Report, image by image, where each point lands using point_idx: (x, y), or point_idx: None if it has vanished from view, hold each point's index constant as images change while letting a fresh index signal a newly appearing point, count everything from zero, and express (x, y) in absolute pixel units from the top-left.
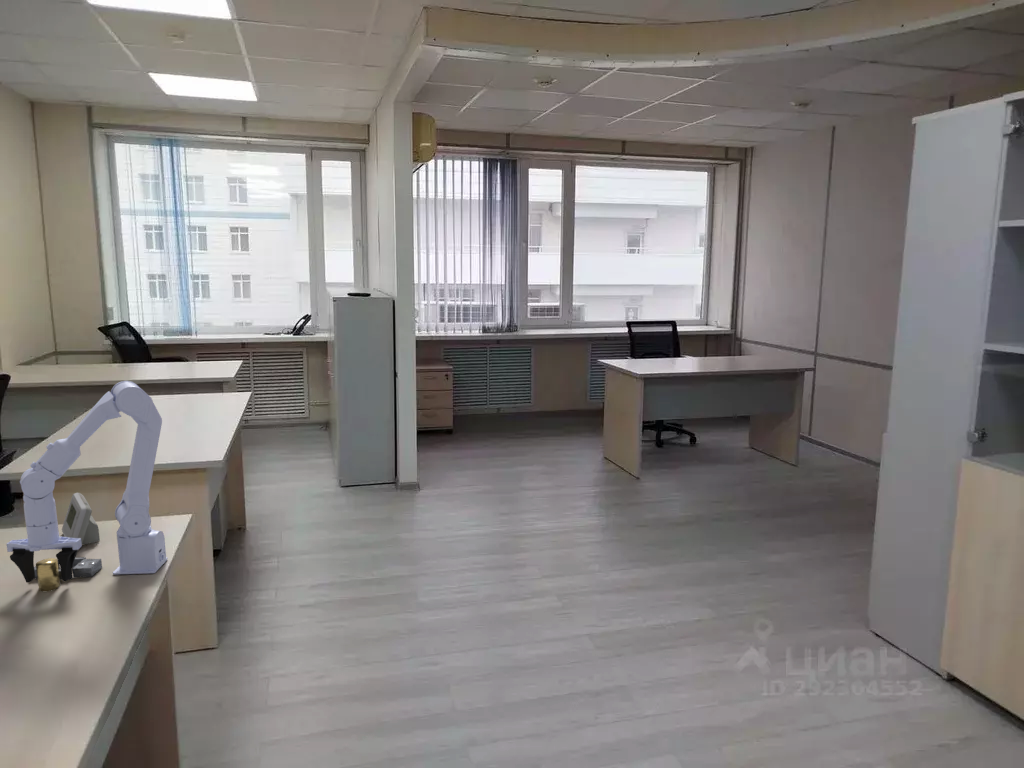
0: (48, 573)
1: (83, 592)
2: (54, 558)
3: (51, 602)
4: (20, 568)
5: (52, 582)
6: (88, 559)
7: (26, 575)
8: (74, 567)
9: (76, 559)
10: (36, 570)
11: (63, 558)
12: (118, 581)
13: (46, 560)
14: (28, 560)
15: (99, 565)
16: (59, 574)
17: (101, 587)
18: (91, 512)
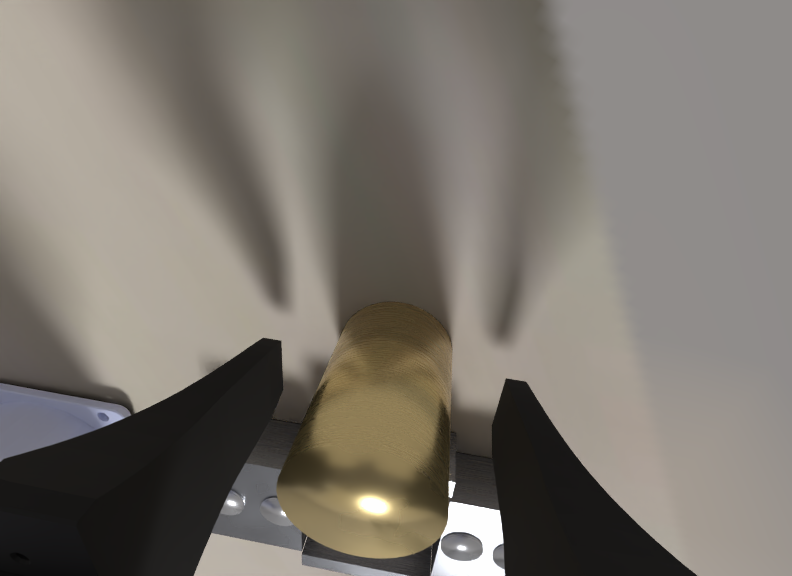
0: (338, 386)
1: (151, 237)
2: (329, 546)
3: (275, 122)
4: (579, 473)
5: (344, 342)
6: (274, 542)
7: (522, 414)
8: None
9: (341, 559)
10: (443, 439)
11: (59, 460)
12: (51, 331)
13: (377, 533)
14: (527, 562)
15: None
16: None
17: (90, 280)
18: None
